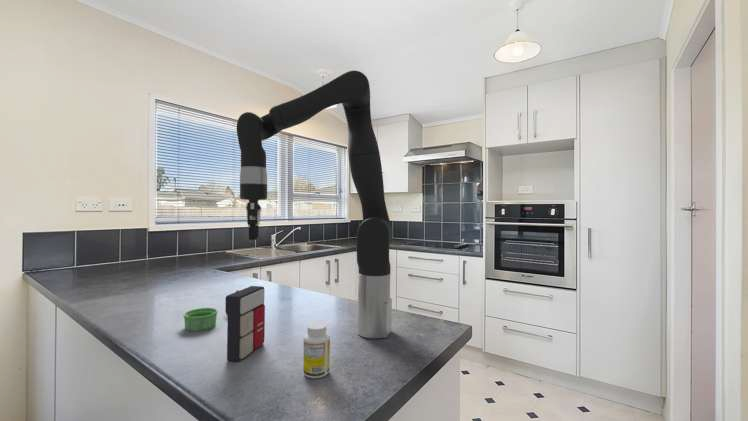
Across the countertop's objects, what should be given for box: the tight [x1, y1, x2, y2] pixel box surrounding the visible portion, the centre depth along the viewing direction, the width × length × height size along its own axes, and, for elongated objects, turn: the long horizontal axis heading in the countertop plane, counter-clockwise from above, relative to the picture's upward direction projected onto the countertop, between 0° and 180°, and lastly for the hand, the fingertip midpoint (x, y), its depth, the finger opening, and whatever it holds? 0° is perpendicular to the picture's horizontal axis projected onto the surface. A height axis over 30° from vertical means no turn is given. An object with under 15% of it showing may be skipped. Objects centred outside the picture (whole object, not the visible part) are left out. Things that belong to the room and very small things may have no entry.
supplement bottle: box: [303, 322, 331, 379], centre depth 70 cm, size 6×6×10 cm
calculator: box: [224, 285, 266, 363], centre depth 80 cm, size 11×4×15 cm, turn 168°
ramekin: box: [183, 307, 218, 332], centre depth 96 cm, size 9×9×4 cm
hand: (253, 238), depth 95 cm, fingers open, 8 cm apart
